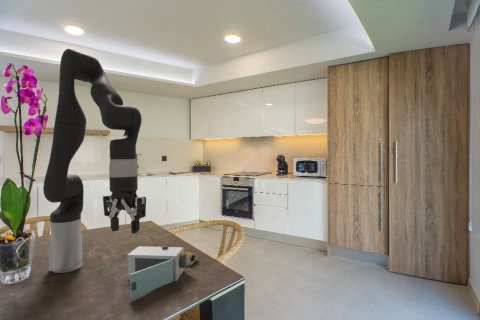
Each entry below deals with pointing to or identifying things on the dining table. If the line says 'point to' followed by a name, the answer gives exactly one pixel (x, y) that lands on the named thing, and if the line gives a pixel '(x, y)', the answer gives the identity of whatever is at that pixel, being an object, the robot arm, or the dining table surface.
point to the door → (152, 278)
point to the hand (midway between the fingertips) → (125, 231)
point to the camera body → (156, 258)
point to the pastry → (191, 258)
